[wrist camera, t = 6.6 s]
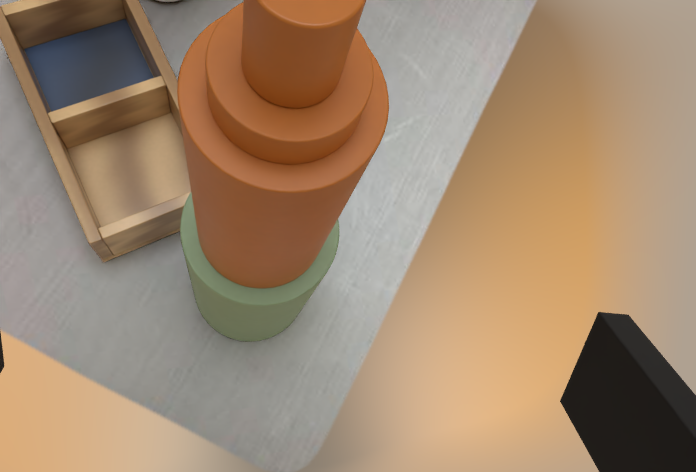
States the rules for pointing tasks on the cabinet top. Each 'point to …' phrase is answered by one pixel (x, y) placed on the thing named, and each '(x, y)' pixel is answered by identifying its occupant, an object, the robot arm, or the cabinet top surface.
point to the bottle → (277, 132)
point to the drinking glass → (167, 0)
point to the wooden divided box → (103, 114)
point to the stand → (248, 289)
